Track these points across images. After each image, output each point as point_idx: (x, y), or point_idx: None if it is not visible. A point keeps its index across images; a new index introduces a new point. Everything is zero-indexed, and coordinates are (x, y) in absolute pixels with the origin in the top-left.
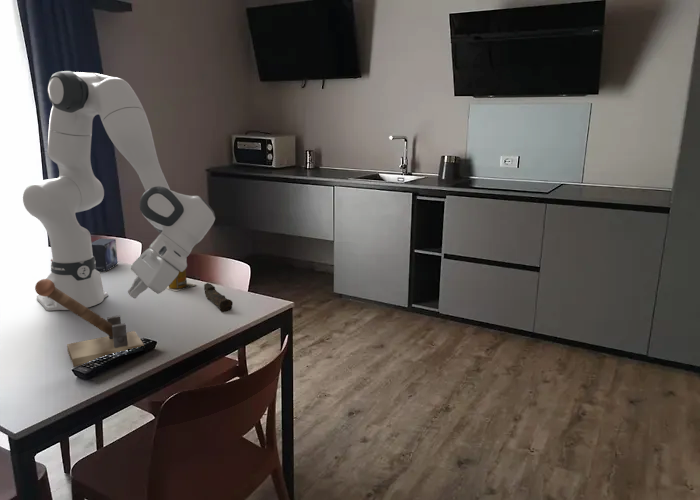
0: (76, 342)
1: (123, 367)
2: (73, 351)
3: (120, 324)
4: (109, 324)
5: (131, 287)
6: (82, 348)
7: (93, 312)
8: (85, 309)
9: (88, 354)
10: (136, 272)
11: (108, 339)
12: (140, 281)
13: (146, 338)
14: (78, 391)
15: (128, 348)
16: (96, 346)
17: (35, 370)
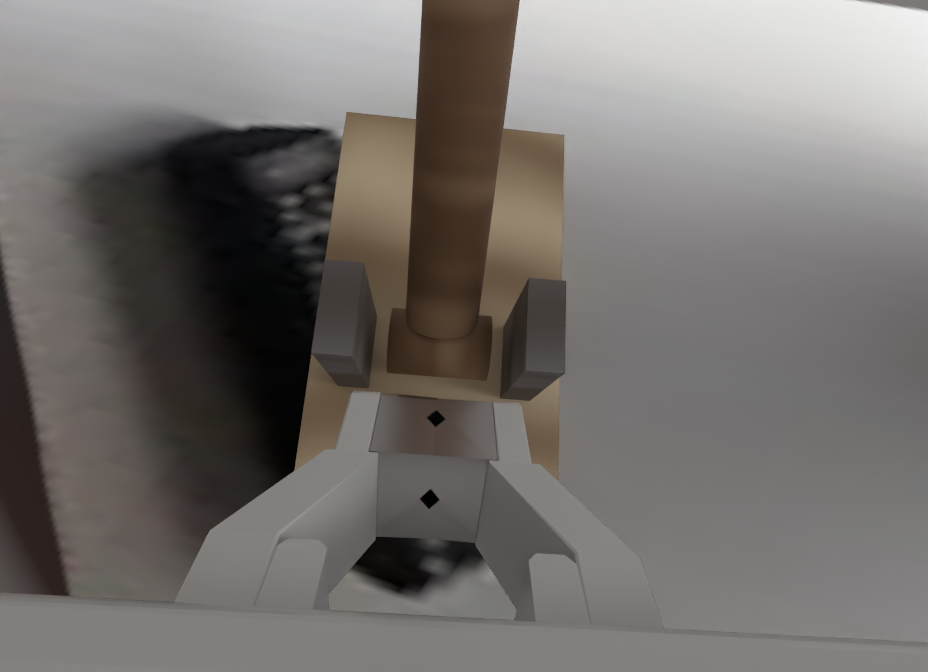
0: (561, 175)
1: (175, 318)
2: None
3: (340, 319)
4: (422, 265)
5: (499, 450)
6: None
7: (449, 106)
8: (434, 13)
9: (354, 182)
10: (758, 665)
11: (504, 319)
12: (275, 592)
13: None
14: (74, 97)
15: (309, 382)
16: None
17: None
